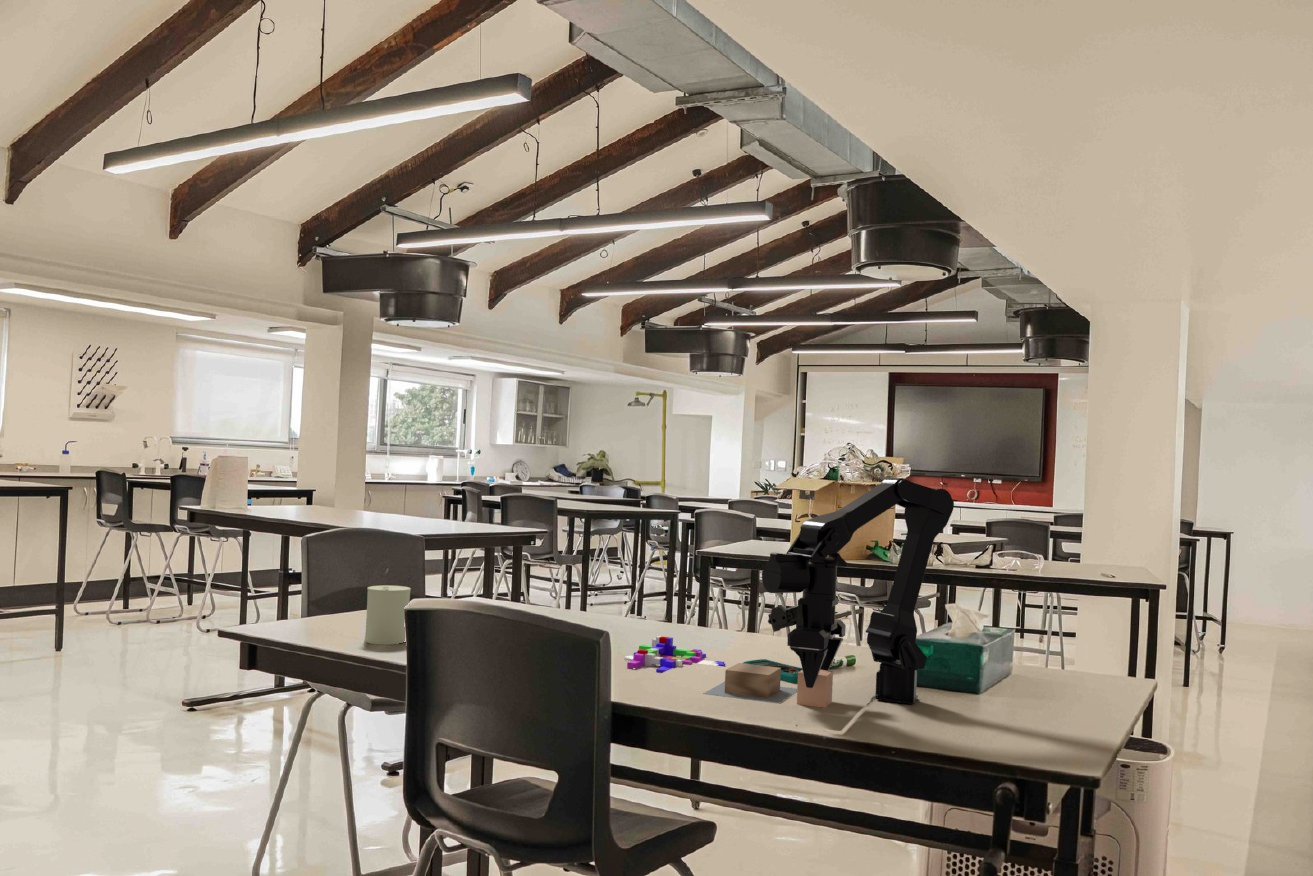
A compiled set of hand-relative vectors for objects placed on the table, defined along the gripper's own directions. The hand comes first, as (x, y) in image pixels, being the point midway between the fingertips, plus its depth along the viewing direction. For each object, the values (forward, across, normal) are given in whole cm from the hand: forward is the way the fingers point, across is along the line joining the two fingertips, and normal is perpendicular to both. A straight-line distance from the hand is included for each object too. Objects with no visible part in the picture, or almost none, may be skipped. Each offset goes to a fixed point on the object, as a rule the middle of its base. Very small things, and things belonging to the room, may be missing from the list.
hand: (815, 683), depth 179 cm
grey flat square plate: (+4, -3, -12) cm, 13 cm away
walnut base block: (+3, -3, -12) cm, 13 cm away
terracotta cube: (+4, 0, 0) cm, 4 cm away
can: (+4, -10, -96) cm, 97 cm away
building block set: (+5, -25, -35) cm, 43 cm away
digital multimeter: (+5, -21, -12) cm, 25 cm away
